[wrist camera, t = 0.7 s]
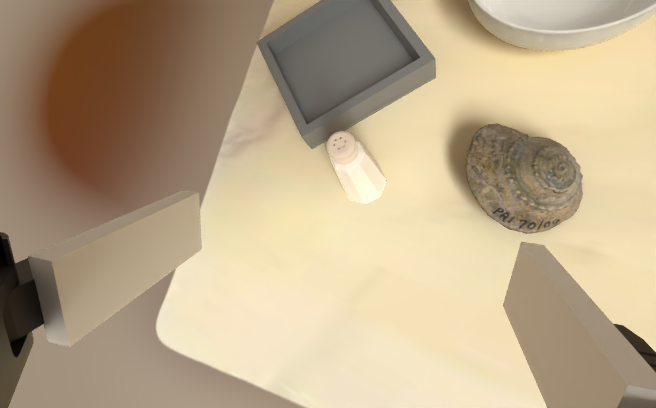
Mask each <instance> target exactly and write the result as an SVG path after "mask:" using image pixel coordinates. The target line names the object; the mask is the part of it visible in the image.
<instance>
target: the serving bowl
mask: <svg viewBox="0 0 656 408" xmlns="http://www.w3.org/2000/svg"><path fill="white" fill-rule="evenodd" d="M468 3H469V5H470V8H471V10H472V12H473V13H474V15H475V17H476V18H477V20H478V21H479V22H480V23H481V24H482V25H483V27H485V28H486V29H487V30H488V31H489V32H490V33H492V34H493V35H494V36H496V37H497V38H499V39H501V40H503V41H505V42H507V43H510V44H512V45H515V46H518V47H522V48H526V49H531V50H539V51H564V50H572V49H578V48H583V47H587V46H591V45H595V44H598V43H601V42H604V41H607V40H609V39H612V38H614V37H617V36H619V35H621V34H623V33H625V32H627V31H629V30H630V29H632V28H634V27H636V26H637V25H639V24H641V23H642V22H644V21H645V20H646V19H648V18H649V17H651V16H652V15H653V14H655V13H656V0H468Z"/></svg>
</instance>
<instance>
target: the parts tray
mask: <svg viewBox="0 0 656 408" xmlns="http://www.w3.org/2000/svg"><path fill="white" fill-rule="evenodd" d="M257 44H258V46H259V48H260V50H261V52H262V55H263V57H264V59H265V61H266V63H267V65H268V67H269V69H270V71H271V73H272V76H273V78H274V80H275V82H276V84H277V86H278V88H279V90H280V92H281V94H282V96H283V99H284V101H285V103H286V105H287V107H288V109H289V111H290V113H291V115H292V117H293V120H294V122H295V124H296V126H297V128H298V130H299V132H300V134H301V136H302V138H303V139H304V140H305V142H306V143H307V144H308V145H309V146H310V148H311V149H313V148H315V147H316V146H318V145H320V144H322V143H323V142H325V141H327V140H328V139H329V138H330V136H331V135H333V134H334V133H336V132H339V131H344V130H346V129H348V128H349V127H351V126H353V125H354V124H356V123H358V122H360V121H361V120H363V119H365V118H367V117H368V116H370V115H372V114H374V113H375V112H377V111H379V110H380V109H382V108H384V107H386V106H387V105H389V104H391V103H393V102H394V101H396V100H398V99H399V98H401V97H403V96H405V95H406V94H408V93H410V92H412V91H413V90H415V89H417V88H419V87H420V86H422V85H424V84H425V83H427V82H429V81H431V80H432V79H434V78H436V67H435V58H434V56H433V55H432V54H431V53H430V51H429V50H428V49H427V47H426V46H425V45H424V43H423V42H422V41H421V40H420V38H419V37H418V36H417V34H416V33H415V32H414V30H413V29H412V28H411V27H410V25H409V24H408V23H407V21H406V20H405V19H404V17H403V16H402V15H401V14H400V12H399V11H398V10H397V8H396V7H395V6H394V5H393V3H392V2H391V1H390V0H321V1H320V2H318V3H317V4H315V5H314V6H312V7H310V8H309V9H307V10H306V11H304V12H303V13H301V14H300V15H298V16H297V17H295V18H293V19H292V20H290V21H289V22H287V23H286V24H284V25H283V26H281V27H280V28H278V29H277V30H275V31H273V32H272V33H270V34H269V35H267V36H266V37H264V38H263V39H261V40H260V41H258V42H257Z"/></svg>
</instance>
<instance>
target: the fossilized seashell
mask: <svg viewBox="0 0 656 408" xmlns="http://www.w3.org/2000/svg"><path fill="white" fill-rule="evenodd" d="M466 173H467V179H468V183H469V186H470V188H471V190H472V193H473V194H474V196H475V199H476V200H477V202H478V203H479V205H480V206H481V207H482V209H483V210H484V211H485V212H486V213H487V214H488V215H489V216H490V217H492V218H493V219H494V220H496V221H497V222H499V223H500V224H502V225H503V226H504V227H506V228H508V229H510V230H515V231H518V232H523V233H536V232H542V231H547V230H550V229H551V228H553V227H555V226H557V225H559V224H560V223H561V222H563V221H564V220H567V219H569V218H570V217H572V215H573V214H574V213H575V212H576V211H577V209H578V207H579V204H580V202H581V199H582V195H583V192H582V176H583V175H582V174H581V172H580V166H579V165H578V163H577V162H576V159H575V158H574V157H573V156H572V155H571V154H570V152H569V151H568V150H567V148H566V147H564V146H563V145H561V144H560V143H557V142H556V141H553V140H551V139H548V138H543V137H533V138H531V137H530V136H528V135H526V134H522V133H520V132H518V131H516V130H514V129H512V128H509V127H506V126H502V125H499V124H491V125H487V126H484V127H483V128H480V129H479V130H478V131H477V132H476V134H475V136H474V137H473V139H472V142H471V145H470V148H469V152H468V155H467V160H466Z"/></svg>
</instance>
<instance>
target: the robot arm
mask: <svg viewBox="0 0 656 408" xmlns="http://www.w3.org/2000/svg"><path fill="white" fill-rule="evenodd" d="M201 249H202V246H201V225H200V203H199V192H192V191H186V190H182V191H180V192H178V193H175V194H173V195H171V196H168V197H166V198H164V199H161V200H159V201H156V202H154V203H152V204H149V205H147V206H145V207H142V208H140V209H138V210H135V211H133V212H131V213H128V214H126V215H123V216H121V217H119V218H116V219H114V220H112V221H109V222H107V223H105V224H102V225H100V226H97V227H95V228H93V229H91V230H88V231H86V232H84V233H81V234H79V235H76V236H74V237H72V238H69V239H67V240H64V241H62V242H60V243H57V244H55V245H53V246H50V247H48V248H46V249H43V250H41V251H39V252H36V253H34V254H31V255H29V256H28V258H27V259H25V260H23V261H20V262H18V263H15V262H14V258H13V254H12V250H11V246H10V241H9V237H8V235H7V234H5V233H1V232H0V408H8V406H9V404H10V401H11V399H12V396H13V394H14V391H15V388H16V386H17V383H18V381H19V378H20V375H21V373H22V371H23V368H24V366H25V363H26V361H27V358H28V355H29V353H30V350H31V348H32V345H33V334H32V331H33V330H34V329H35V328H37V327H39V326H41V325H42V324H44V328H45V332H46V337H47V341H49V342H53V343H57V344H60V345H64V346H67V347H70V346H72V345H73V344H74V343H76V342H77V341H78V340H80V339H81V338H82V337H84V336H85V335H86V334H88V333H89V332H90V331H92V330H93V329H94V328H96V327H97V326H99V325H100V324H101V323H102V322H104V321H105V320H107V319H108V318H109V317H111V316H112V315H113V314H115V313H116V312H117V311H119V310H120V309H121V308H123V307H124V306H126V305H127V304H128V303H130V302H131V301H132V300H134V299H135V298H136V297H138V296H139V295H140V294H142V293H143V292H144V291H146V290H147V289H148V288H150V287H151V286H152V285H154V284H155V283H156V282H158V281H159V280H161V279H162V278H163V277H165V276H166V275H167V274H169V273H170V272H171V271H173V270H174V269H175V268H177V267H178V266H179V265H181V264H182V263H183V262H185V261H186V260H187V259H189V258H190V257H192V256H193V255H194V254H196V253H197V252H198V251H200V250H201ZM503 307H504V309H505V311H506V314H507V316H508V318H509V321H510V323H511V325H512V328H513V330H514V332H515V334H516V337H517V339H518V341H519V344H520V346H521V348H522V351H523V353H524V355H525V357H526V360H527V362H528V364H529V367H530V369H531V371H532V373H533V376H534V378H535V380H536V383H537V385H538V387H539V390H540V392H541V394H542V396H543V399H544V401H545V403H546V406H547V408H656V352H655V351H654V350H653V349H652V348H651V347H650V346H649V345H648V344H647V343H646V342H645V341H644V340H643V339H642V338H640V337H639V336H637V335H636V334H634V333H633V332H632V331H630V330H629V329H627V328H626V327H624V326H623V325H618V324H613V323H612V322H611V321H610V320H609V319H608V318H607V316H606V315H605V314H604V313H603V312H602V311H601V310H600V309H599V307H598V306H597V305H596V304H595V303H594V302H593V301H592V299H591V298H590V297H589V296H588V295H587V294H586V293H585V291H584V290H583V289H582V288H581V287H580V286H579V285H578V283H577V282H576V281H575V280H574V279H573V278H572V277H571V275H570V274H569V273H568V272H567V271H566V270H565V269H564V268H563V266H562V265H561V264H560V263H559V262H558V261H557V260H556V258H555V257H554V256H553V255H552V254H551V253H550V252H549V250H548V249H547V248H546V247H545V246H544V245H539V244H532V243H526V242H521V244H520V248H519V251H518V255H517V258H516V262H515V265H514V269H513V272H512V276H511V279H510V283H509V286H508V290H507V293H506V297H505V300H504V303H503Z"/></svg>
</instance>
